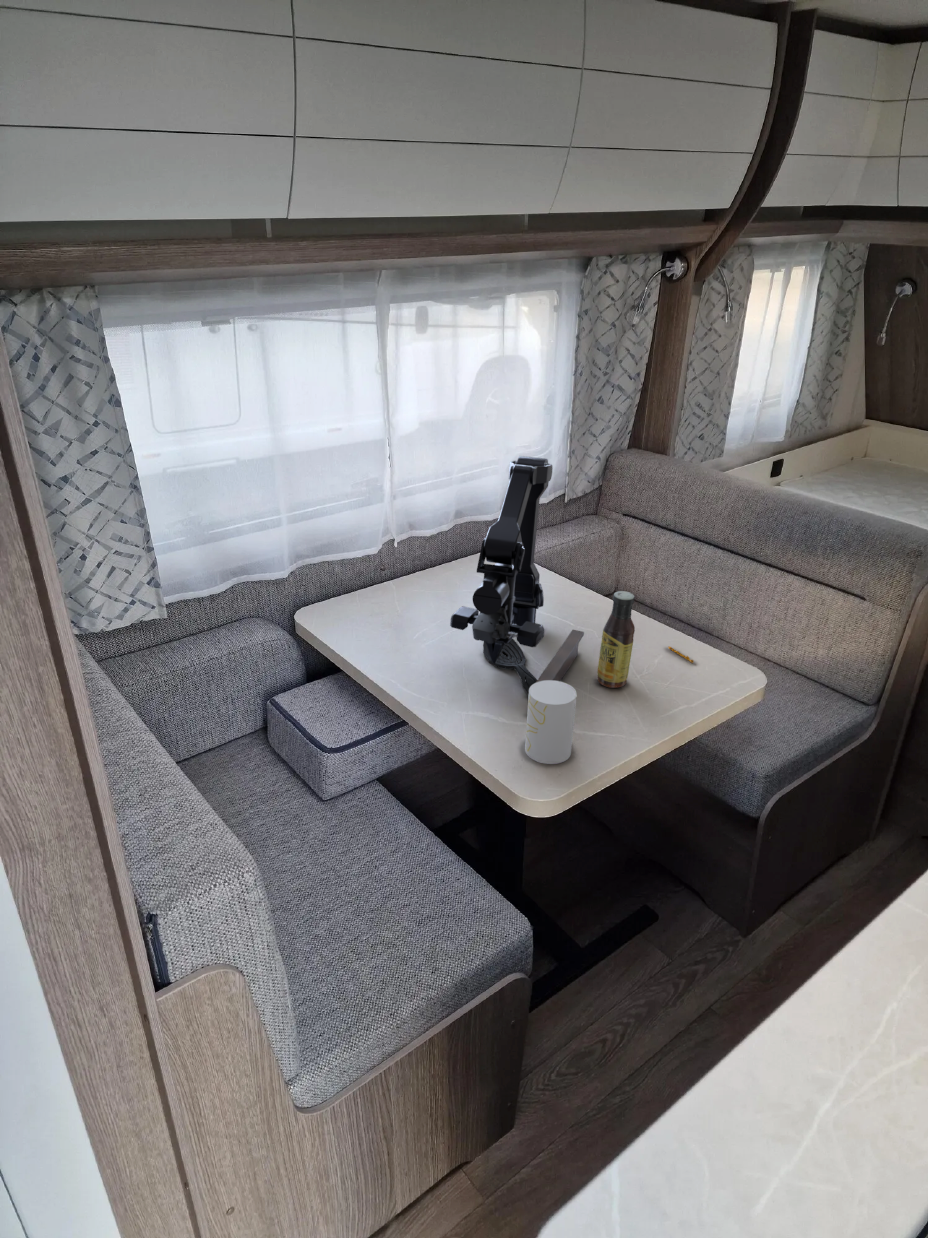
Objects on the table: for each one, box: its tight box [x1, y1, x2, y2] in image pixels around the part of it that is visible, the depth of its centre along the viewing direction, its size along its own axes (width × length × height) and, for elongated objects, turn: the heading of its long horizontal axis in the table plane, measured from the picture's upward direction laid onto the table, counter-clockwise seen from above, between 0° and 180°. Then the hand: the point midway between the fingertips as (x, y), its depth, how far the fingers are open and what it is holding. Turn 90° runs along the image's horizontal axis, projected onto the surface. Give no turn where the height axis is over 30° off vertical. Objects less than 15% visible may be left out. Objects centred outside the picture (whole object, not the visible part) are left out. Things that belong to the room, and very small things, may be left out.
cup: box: [524, 680, 578, 765], centre depth 142 cm, size 8×8×12 cm
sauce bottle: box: [596, 590, 636, 689], centre depth 163 cm, size 6×6×20 cm
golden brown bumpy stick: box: [667, 646, 694, 664], centre depth 178 cm, size 8×1×1 cm, turn 29°
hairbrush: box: [482, 638, 538, 696], centre depth 170 cm, size 8×4×25 cm
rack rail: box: [536, 629, 585, 683], centre depth 165 cm, size 28×3×6 cm, turn 157°
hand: (494, 662), depth 170 cm, fingers closed
